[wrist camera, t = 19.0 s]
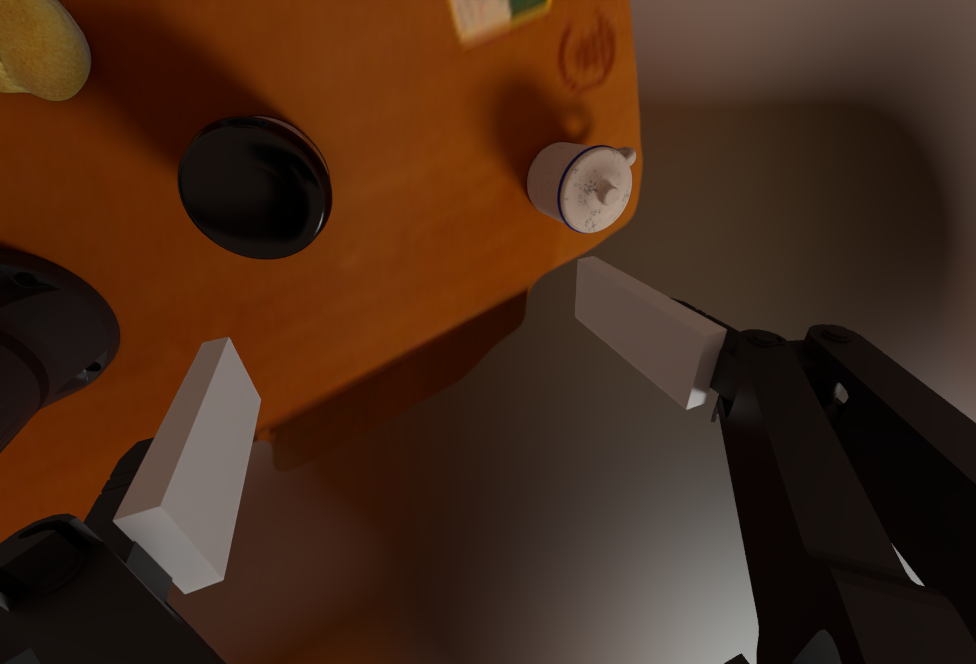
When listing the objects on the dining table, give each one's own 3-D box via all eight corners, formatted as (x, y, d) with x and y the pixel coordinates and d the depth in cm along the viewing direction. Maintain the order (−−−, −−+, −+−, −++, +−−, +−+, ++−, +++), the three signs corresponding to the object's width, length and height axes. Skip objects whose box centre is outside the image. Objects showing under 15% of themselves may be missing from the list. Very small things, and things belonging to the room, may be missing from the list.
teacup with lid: (540, 229, 51) (589, 257, 42) (512, 166, 46) (561, 181, 37) (613, 179, 52) (678, 195, 42) (594, 110, 46) (663, 111, 37)
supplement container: (285, 93, 36) (272, 88, 26) (351, 199, 42) (359, 227, 32) (180, 146, 35) (124, 161, 25) (262, 246, 41) (243, 289, 31)
